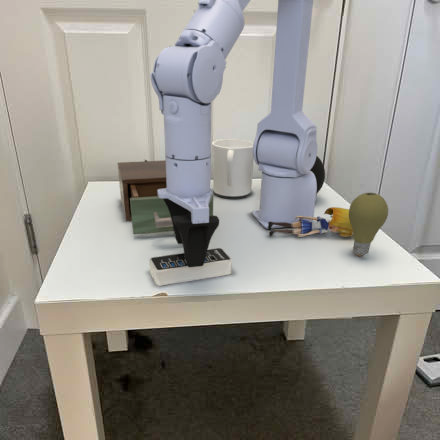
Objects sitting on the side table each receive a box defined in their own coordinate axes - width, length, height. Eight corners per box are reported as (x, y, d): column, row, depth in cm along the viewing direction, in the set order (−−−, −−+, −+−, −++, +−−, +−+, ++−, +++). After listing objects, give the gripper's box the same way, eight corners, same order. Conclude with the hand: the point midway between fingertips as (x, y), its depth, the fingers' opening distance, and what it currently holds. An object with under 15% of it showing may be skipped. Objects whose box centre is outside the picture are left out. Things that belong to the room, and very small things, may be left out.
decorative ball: (325, 208, 89) (332, 157, 84) (274, 207, 89) (278, 155, 84) (317, 193, 98) (323, 145, 93) (271, 191, 98) (274, 144, 93)
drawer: (220, 238, 73) (220, 204, 70) (136, 246, 70) (133, 210, 67) (199, 207, 86) (199, 177, 83) (127, 212, 83) (125, 181, 80)
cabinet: (204, 215, 85) (205, 175, 81) (125, 221, 81) (122, 179, 78) (192, 195, 94) (191, 159, 91) (121, 200, 91) (117, 162, 87)
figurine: (269, 245, 76) (357, 241, 77) (272, 219, 73) (364, 216, 73) (266, 229, 80) (350, 225, 80) (268, 203, 76) (356, 200, 76)
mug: (214, 185, 101) (215, 137, 96) (254, 188, 100) (257, 139, 95) (206, 201, 92) (206, 149, 86) (250, 204, 91) (253, 151, 85)
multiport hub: (149, 271, 65) (148, 257, 64) (221, 261, 68) (221, 247, 67) (157, 286, 61) (156, 271, 60) (232, 274, 65) (232, 259, 63)
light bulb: (358, 266, 68) (371, 201, 63) (334, 251, 72) (344, 190, 67) (386, 259, 70) (400, 196, 65) (360, 245, 74) (372, 185, 69)
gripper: (148, 143, 62) (154, 236, 69) (165, 172, 50) (169, 280, 57) (199, 142, 63) (199, 232, 70) (227, 169, 51) (224, 274, 58)
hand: (189, 253), depth 64 cm, fingers open, 7 cm apart
